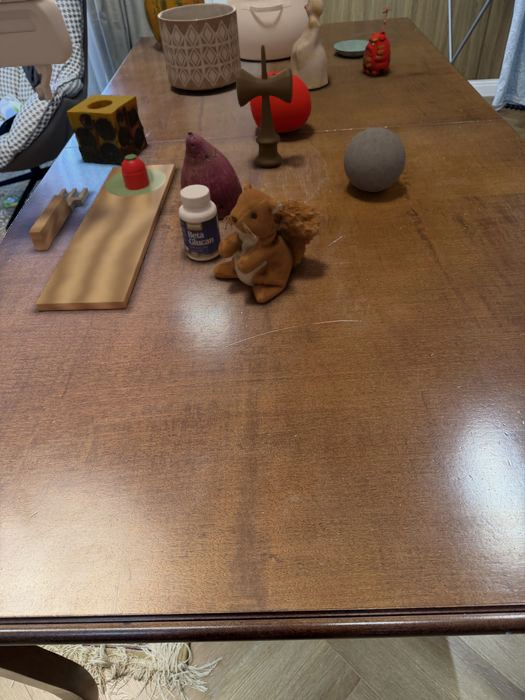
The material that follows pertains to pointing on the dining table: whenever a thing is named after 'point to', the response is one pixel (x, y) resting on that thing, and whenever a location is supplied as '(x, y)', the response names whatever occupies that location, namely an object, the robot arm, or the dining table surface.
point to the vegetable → (210, 173)
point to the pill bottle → (199, 223)
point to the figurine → (311, 51)
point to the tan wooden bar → (55, 217)
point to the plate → (141, 191)
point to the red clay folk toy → (377, 52)
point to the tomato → (286, 107)
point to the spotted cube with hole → (107, 128)
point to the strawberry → (134, 173)
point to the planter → (200, 45)
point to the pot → (269, 27)
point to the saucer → (351, 47)
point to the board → (106, 249)
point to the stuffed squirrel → (266, 241)
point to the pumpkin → (157, 3)
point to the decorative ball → (374, 159)
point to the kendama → (265, 106)
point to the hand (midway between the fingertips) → (14, 101)
